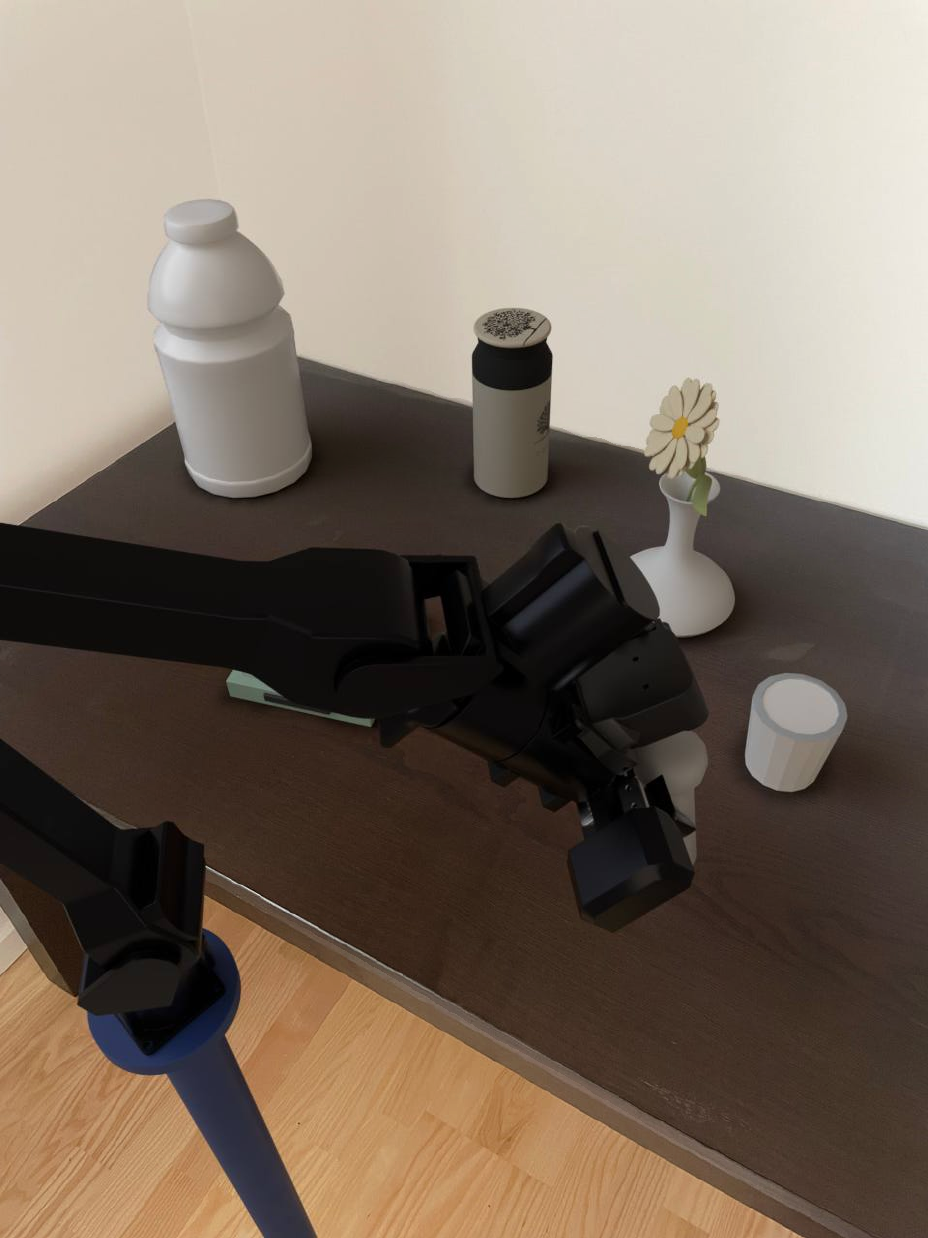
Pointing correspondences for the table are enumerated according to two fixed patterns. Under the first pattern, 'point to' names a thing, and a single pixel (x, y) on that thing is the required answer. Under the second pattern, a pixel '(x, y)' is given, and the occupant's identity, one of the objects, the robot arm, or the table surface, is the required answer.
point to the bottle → (227, 355)
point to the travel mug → (511, 401)
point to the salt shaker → (676, 772)
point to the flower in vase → (685, 513)
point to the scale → (277, 697)
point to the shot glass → (792, 730)
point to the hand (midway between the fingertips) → (680, 807)
